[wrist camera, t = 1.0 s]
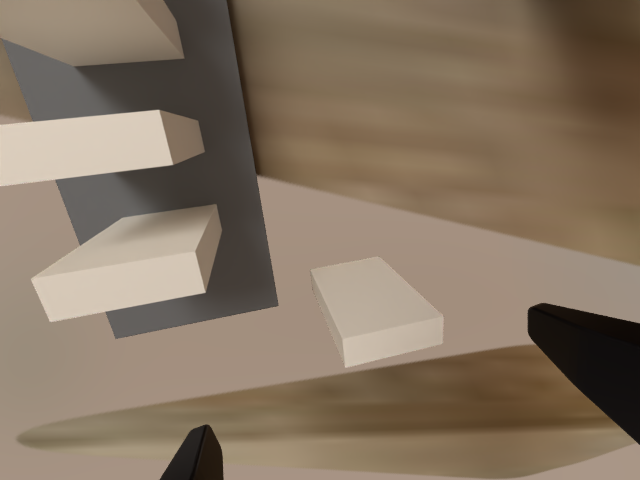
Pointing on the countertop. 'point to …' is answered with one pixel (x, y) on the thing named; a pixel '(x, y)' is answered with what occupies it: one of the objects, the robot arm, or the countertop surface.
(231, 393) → the countertop surface
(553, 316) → the robot arm
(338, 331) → the domino
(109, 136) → the domino
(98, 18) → the domino
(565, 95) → the countertop surface
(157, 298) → the domino
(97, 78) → the rubber mat
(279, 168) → the countertop surface
